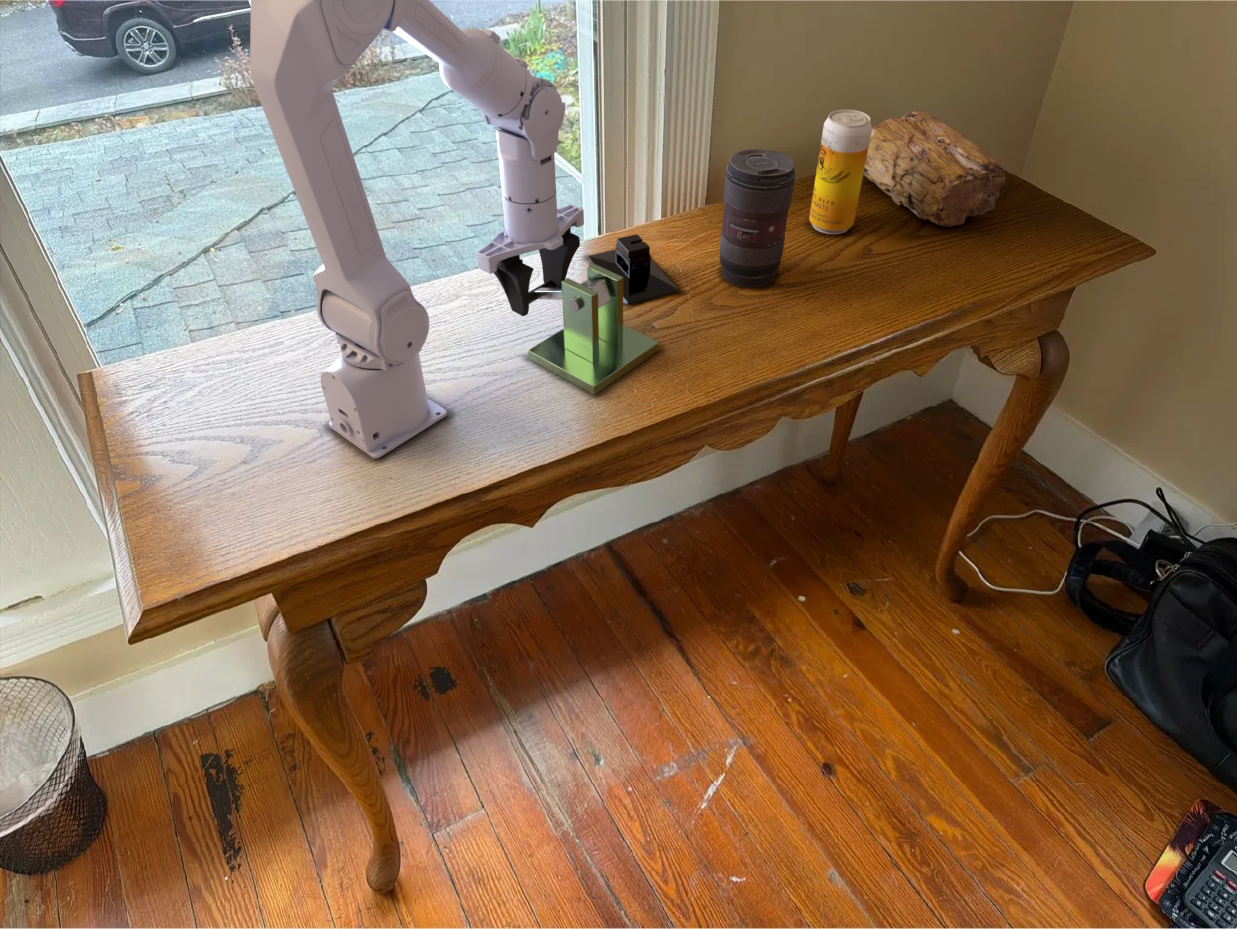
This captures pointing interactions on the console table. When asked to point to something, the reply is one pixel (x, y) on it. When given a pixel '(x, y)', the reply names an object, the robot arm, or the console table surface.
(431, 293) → the console table surface
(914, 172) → the petrified wood
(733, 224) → the camera lens
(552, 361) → the bracket
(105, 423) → the console table surface
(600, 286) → the lever
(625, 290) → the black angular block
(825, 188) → the beer can
